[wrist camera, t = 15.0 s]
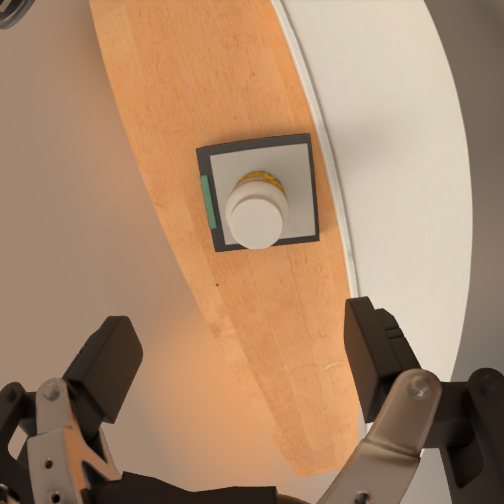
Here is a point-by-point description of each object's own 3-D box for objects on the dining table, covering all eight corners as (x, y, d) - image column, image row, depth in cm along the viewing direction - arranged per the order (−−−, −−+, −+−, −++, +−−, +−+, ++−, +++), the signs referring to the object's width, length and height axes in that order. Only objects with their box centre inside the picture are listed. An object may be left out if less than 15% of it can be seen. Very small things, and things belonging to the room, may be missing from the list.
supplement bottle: (227, 178, 29) (209, 199, 20) (277, 164, 28) (282, 179, 20) (242, 225, 31) (232, 265, 22) (291, 212, 30) (300, 248, 22)
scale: (218, 245, 35) (214, 254, 33) (199, 147, 30) (194, 149, 28) (316, 235, 34) (320, 243, 32) (307, 133, 29) (311, 133, 27)
